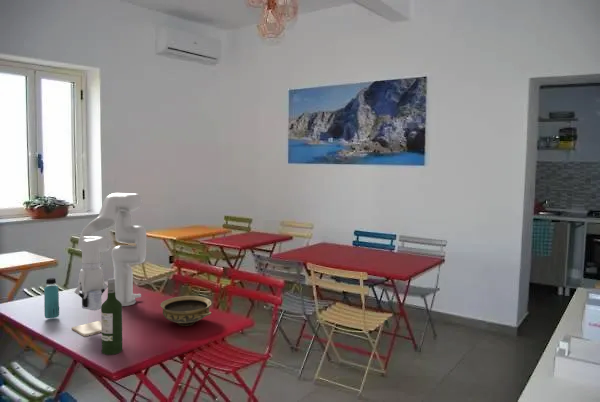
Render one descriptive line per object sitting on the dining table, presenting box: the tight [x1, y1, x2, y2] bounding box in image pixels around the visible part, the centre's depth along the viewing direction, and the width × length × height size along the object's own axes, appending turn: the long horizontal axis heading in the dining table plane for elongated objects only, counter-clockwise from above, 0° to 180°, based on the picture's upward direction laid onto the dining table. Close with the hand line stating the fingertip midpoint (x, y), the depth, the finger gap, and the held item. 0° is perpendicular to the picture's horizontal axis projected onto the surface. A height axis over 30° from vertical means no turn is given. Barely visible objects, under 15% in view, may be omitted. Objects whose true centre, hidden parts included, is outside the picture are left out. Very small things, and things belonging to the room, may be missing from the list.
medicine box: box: [81, 290, 103, 312], centre depth 220 cm, size 8×4×9 cm, turn 64°
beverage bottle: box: [43, 277, 60, 319], centre depth 233 cm, size 6×7×20 cm
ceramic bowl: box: [159, 295, 212, 327], centre depth 232 cm, size 30×24×10 cm
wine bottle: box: [100, 277, 123, 356], centre depth 195 cm, size 8×8×30 cm
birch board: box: [71, 320, 102, 338], centre depth 221 cm, size 13×13×1 cm
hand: (91, 304), depth 220 cm, fingers closed on medicine box, 5 cm apart
